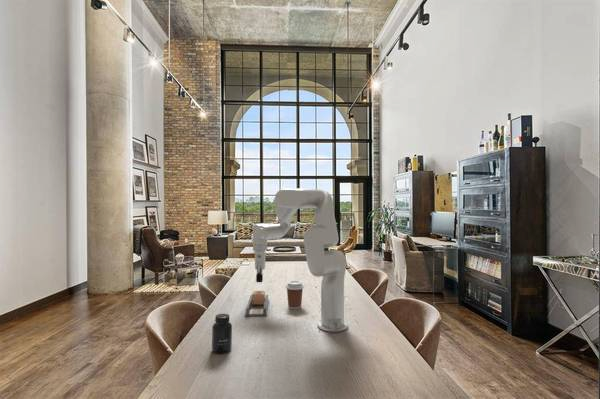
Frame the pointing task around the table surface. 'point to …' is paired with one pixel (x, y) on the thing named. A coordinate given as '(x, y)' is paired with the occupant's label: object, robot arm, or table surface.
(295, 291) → the coffee cup
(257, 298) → the block
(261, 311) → the steel chute
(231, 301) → the table surface
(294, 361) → the table surface
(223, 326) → the supplement bottle
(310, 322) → the table surface
